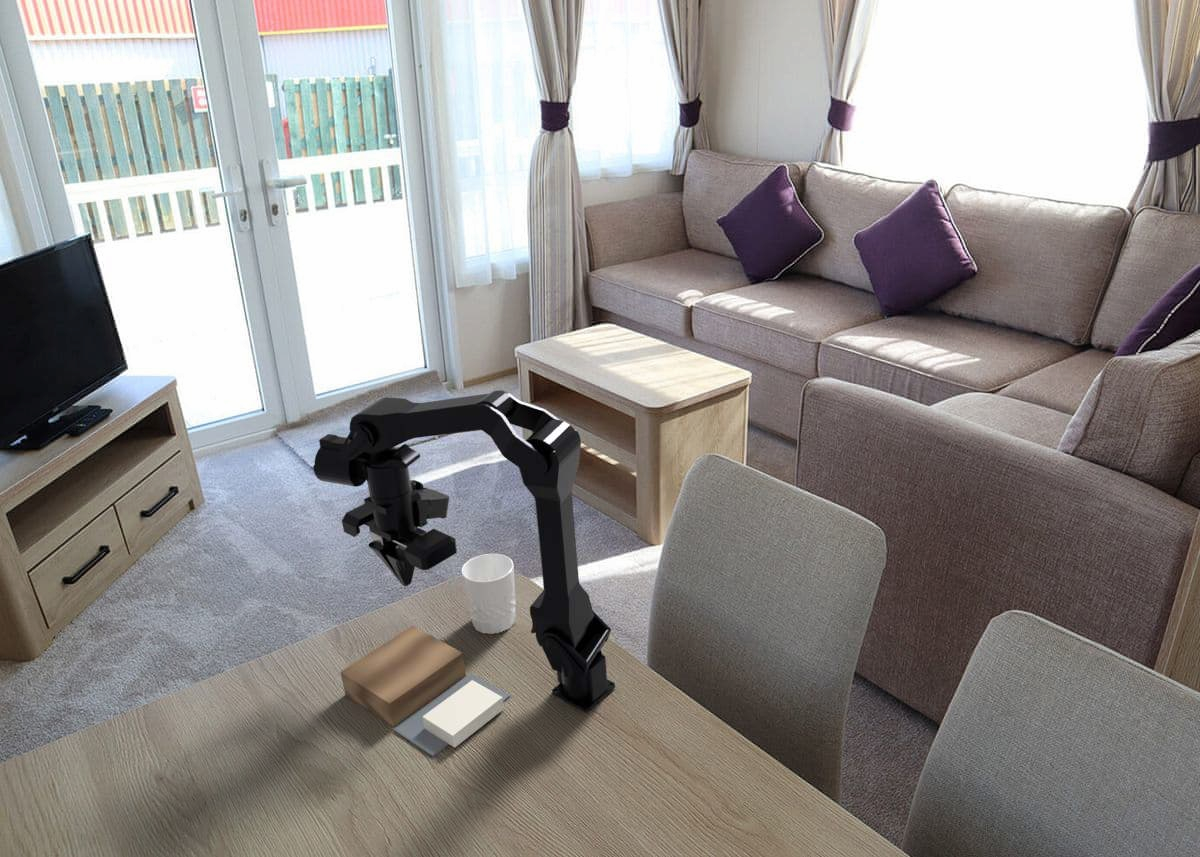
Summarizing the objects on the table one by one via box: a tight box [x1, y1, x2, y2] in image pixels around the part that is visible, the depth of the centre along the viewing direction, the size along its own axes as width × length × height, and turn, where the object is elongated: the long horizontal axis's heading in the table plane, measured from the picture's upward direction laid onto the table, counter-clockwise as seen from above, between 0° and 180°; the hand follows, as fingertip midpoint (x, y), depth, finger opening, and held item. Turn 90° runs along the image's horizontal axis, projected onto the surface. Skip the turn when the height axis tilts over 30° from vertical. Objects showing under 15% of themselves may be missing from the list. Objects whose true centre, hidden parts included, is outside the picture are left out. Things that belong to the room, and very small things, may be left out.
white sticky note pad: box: [422, 680, 505, 748], centre depth 124 cm, size 6×9×2 cm, turn 140°
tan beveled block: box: [340, 625, 467, 728], centre depth 131 cm, size 11×13×4 cm
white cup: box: [461, 553, 517, 635], centre depth 142 cm, size 8×8×10 cm
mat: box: [393, 672, 511, 757], centre depth 126 cm, size 8×14×1 cm, turn 140°
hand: (406, 584), depth 134 cm, fingers closed
